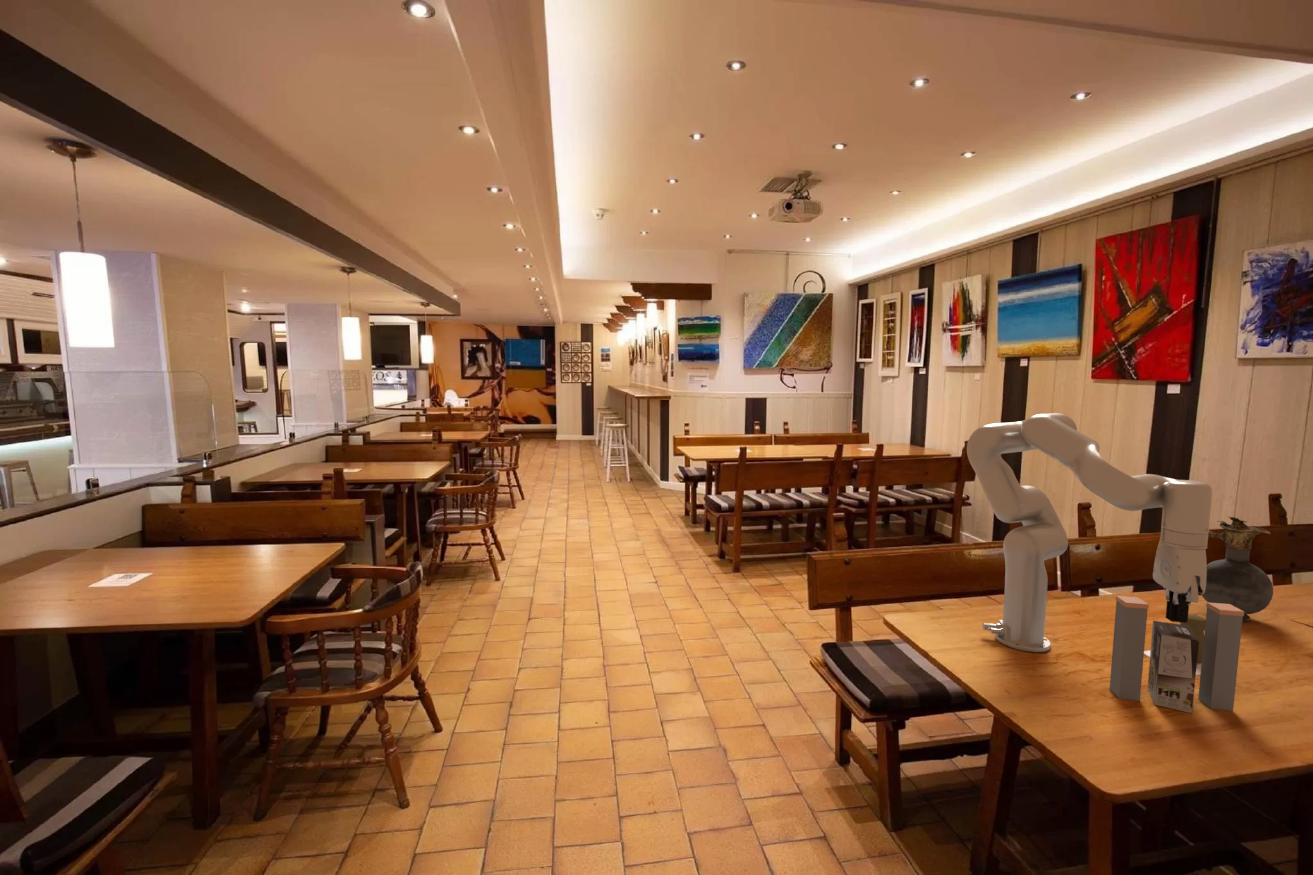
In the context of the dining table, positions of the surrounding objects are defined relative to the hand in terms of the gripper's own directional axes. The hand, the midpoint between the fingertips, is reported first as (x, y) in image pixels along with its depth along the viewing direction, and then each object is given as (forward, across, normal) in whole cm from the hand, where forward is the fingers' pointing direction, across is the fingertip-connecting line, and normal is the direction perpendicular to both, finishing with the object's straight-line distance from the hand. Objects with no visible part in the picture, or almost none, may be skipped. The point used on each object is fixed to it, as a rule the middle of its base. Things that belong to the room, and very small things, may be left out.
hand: (1176, 620), depth 126 cm
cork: (+18, -24, +17) cm, 35 cm away
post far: (+18, 0, +8) cm, 20 cm away
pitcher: (+18, -58, +44) cm, 75 cm away
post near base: (+18, 0, -8) cm, 20 cm away
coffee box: (+18, 0, 0) cm, 18 cm away
